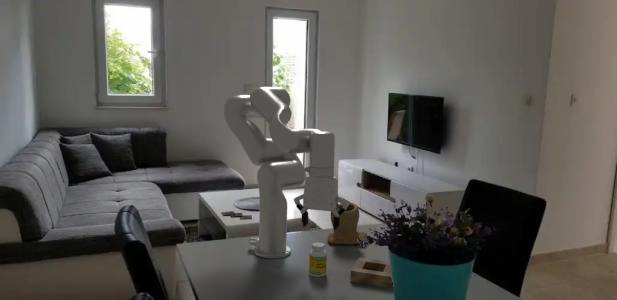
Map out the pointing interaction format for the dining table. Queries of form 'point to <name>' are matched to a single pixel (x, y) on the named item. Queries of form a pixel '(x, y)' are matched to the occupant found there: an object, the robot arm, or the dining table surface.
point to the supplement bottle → (317, 260)
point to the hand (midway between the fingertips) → (320, 227)
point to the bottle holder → (372, 272)
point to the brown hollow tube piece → (347, 227)
